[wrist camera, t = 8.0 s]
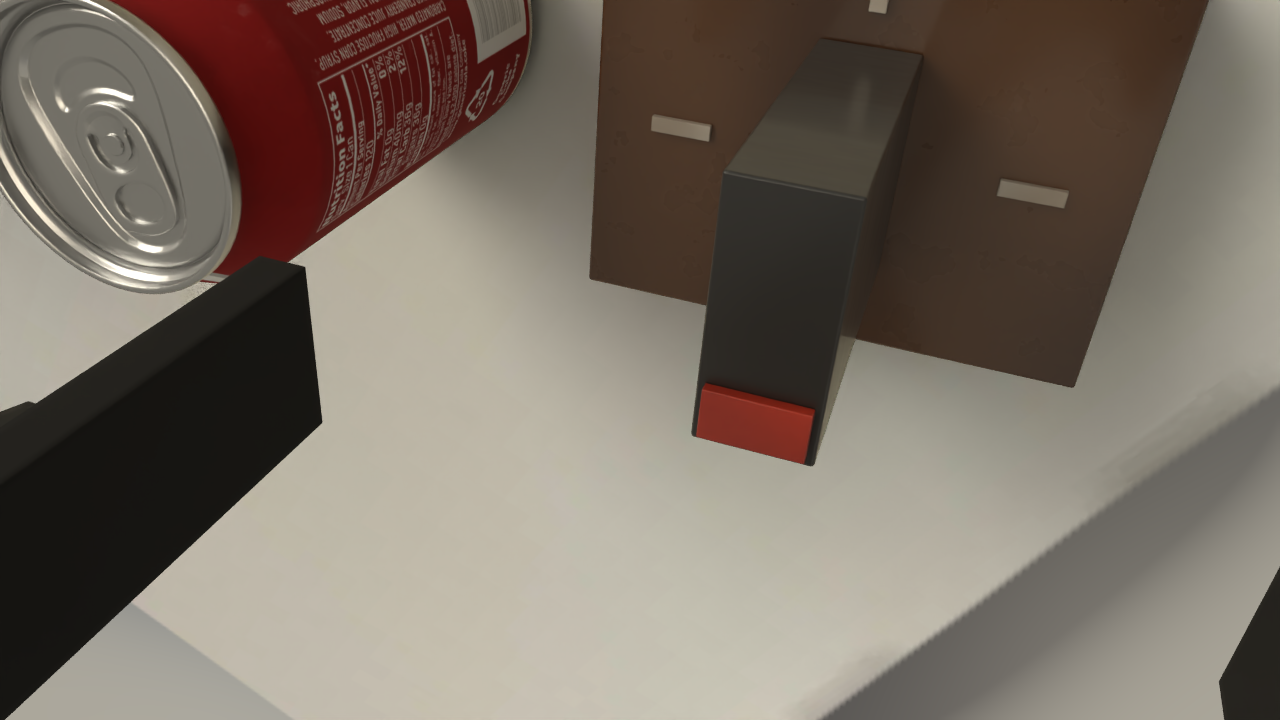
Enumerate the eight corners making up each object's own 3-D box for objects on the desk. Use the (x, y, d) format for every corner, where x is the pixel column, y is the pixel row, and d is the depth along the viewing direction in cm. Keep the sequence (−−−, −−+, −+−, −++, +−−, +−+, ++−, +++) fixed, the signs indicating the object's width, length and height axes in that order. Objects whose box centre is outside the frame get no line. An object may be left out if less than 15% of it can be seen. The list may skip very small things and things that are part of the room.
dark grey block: (819, 37, 23) (718, 175, 16) (924, 54, 22) (865, 204, 15) (785, 249, 25) (686, 444, 19) (878, 269, 25) (810, 476, 18)
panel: (1199, -47, 22) (1216, -15, 20) (1072, 332, 27) (1073, 396, 25) (651, -118, 25) (604, -99, 22) (626, 237, 30) (585, 286, 27)
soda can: (502, -167, 26) (159, -90, 16) (572, 108, 29) (319, 315, 19) (278, -109, 28) (-135, -13, 18) (363, 137, 31) (47, 333, 21)
